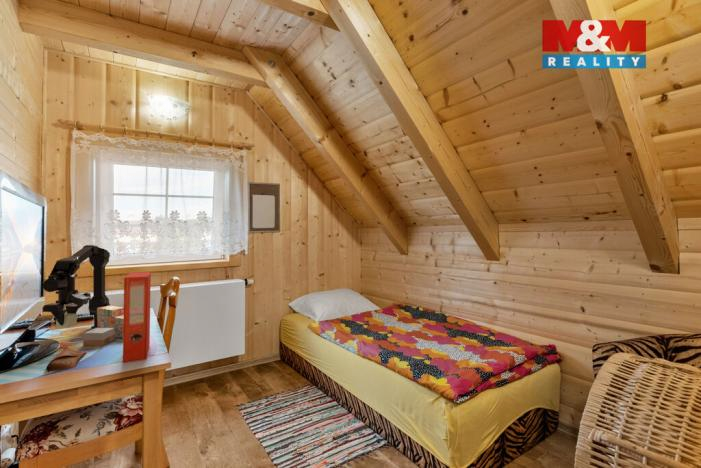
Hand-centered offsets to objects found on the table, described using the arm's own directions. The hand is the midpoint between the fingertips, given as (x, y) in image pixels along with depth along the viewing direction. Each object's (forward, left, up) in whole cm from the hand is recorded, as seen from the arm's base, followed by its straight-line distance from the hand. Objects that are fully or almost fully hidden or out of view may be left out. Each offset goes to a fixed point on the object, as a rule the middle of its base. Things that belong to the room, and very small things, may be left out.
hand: (66, 323), depth 153 cm
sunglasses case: (+22, +18, -9) cm, 30 cm away
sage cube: (0, 0, -1) cm, 1 cm away
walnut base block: (0, +14, -9) cm, 17 cm away
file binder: (+14, +39, -9) cm, 42 cm away
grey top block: (0, +14, -6) cm, 15 cm away
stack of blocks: (-14, +13, -9) cm, 21 cm away
